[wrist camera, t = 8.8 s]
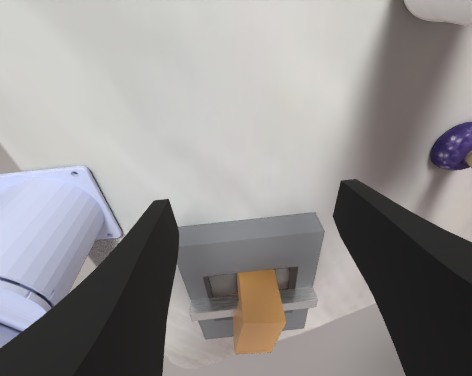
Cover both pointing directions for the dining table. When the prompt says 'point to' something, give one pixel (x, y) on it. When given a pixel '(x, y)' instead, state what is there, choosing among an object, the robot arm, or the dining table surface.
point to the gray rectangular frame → (249, 258)
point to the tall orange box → (257, 312)
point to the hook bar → (228, 304)
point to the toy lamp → (454, 148)
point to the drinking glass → (442, 10)
